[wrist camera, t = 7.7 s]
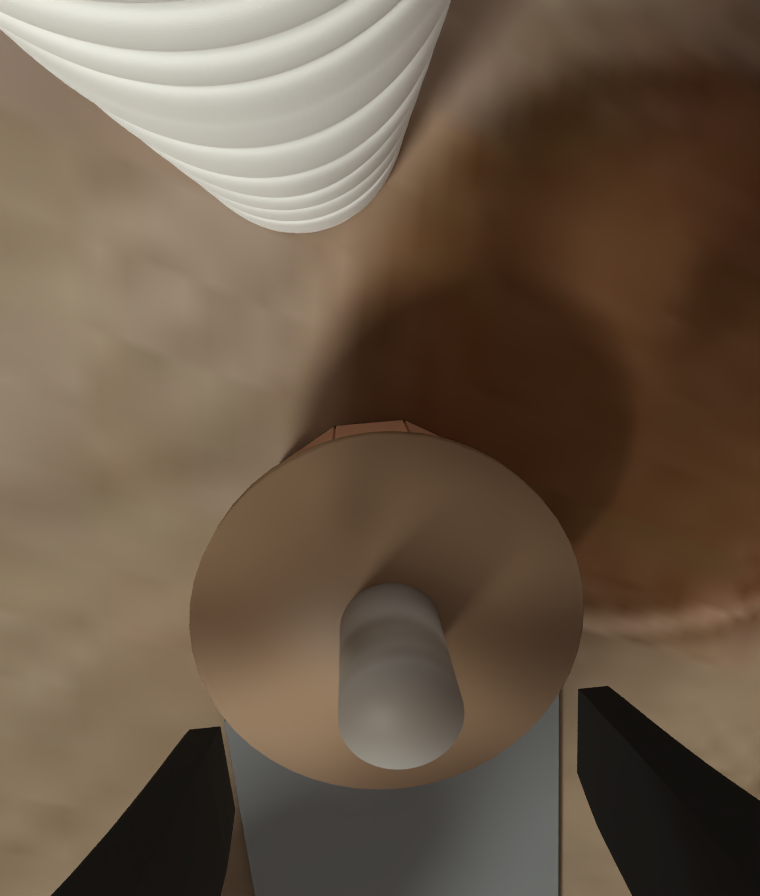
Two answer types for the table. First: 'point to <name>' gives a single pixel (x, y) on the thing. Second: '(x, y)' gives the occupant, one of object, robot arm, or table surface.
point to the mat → (406, 827)
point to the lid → (386, 610)
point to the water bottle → (249, 90)
